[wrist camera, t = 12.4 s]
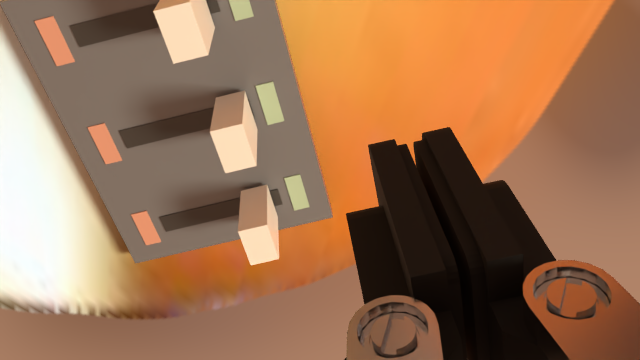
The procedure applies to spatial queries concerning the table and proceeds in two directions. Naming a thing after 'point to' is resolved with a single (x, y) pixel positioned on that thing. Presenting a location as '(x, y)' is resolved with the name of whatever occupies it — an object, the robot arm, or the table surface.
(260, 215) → the block
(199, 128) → the breaker panel
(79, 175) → the table surface
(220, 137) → the block
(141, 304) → the table surface
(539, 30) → the table surface
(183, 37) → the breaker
